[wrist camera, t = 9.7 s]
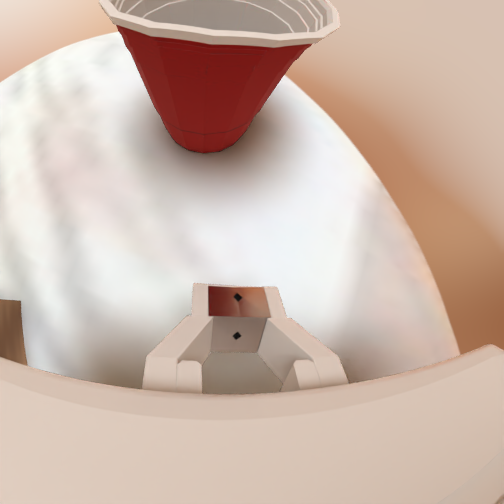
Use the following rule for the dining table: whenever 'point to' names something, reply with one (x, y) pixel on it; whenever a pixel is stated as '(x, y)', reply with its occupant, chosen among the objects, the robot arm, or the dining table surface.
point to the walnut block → (11, 332)
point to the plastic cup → (216, 58)
